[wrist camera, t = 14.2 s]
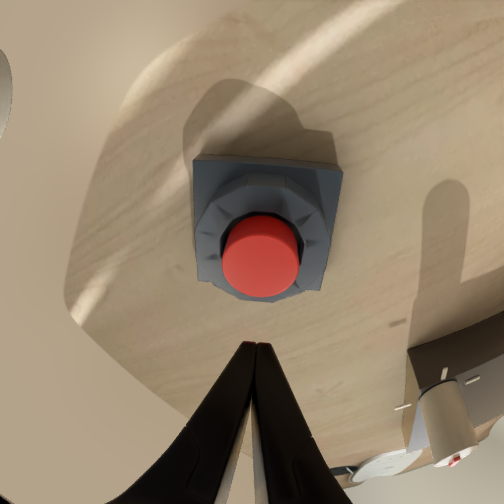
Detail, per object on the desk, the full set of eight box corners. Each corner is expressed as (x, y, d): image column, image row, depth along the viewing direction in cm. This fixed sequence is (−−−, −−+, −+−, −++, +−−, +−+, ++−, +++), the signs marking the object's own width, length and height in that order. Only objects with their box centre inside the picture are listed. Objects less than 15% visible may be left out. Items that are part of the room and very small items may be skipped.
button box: (202, 269, 18) (190, 301, 15) (198, 154, 14) (181, 171, 12) (317, 278, 18) (323, 312, 15) (338, 164, 14) (352, 184, 11)
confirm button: (227, 271, 15) (221, 294, 13) (227, 211, 13) (220, 230, 11) (292, 277, 15) (293, 300, 13) (301, 217, 13) (304, 237, 11)
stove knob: (421, 390, 18) (439, 463, 12) (462, 374, 17) (485, 443, 11) (416, 409, 19) (431, 474, 14) (454, 396, 18) (472, 457, 13)
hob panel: (382, 343, 21) (395, 386, 17) (542, 278, 16) (565, 307, 13) (387, 431, 30) (391, 459, 26) (498, 388, 26) (507, 412, 22)
